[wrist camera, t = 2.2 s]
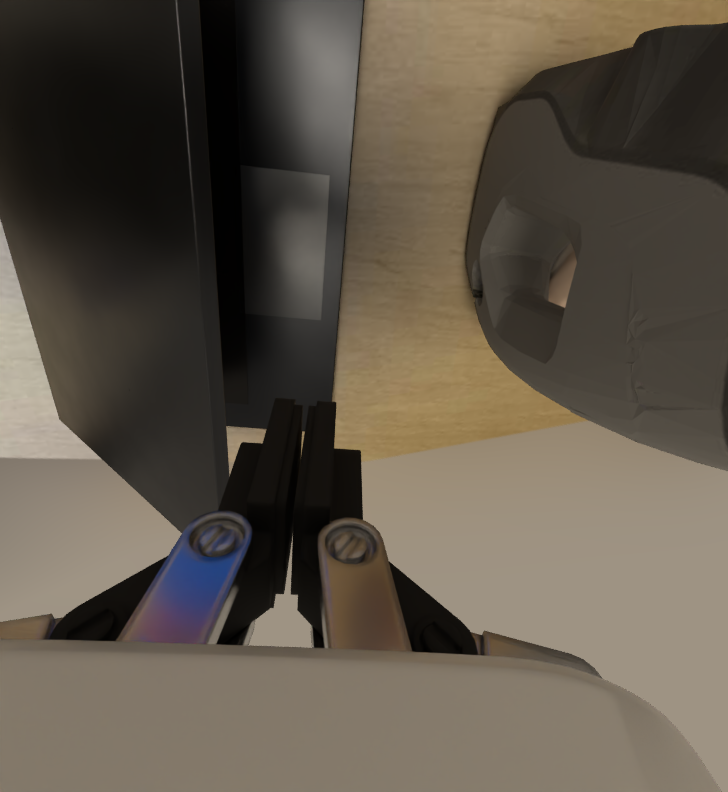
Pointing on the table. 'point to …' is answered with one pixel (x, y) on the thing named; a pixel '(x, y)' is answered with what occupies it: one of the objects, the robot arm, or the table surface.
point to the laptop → (279, 191)
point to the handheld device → (616, 239)
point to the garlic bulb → (562, 276)
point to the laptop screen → (118, 234)
